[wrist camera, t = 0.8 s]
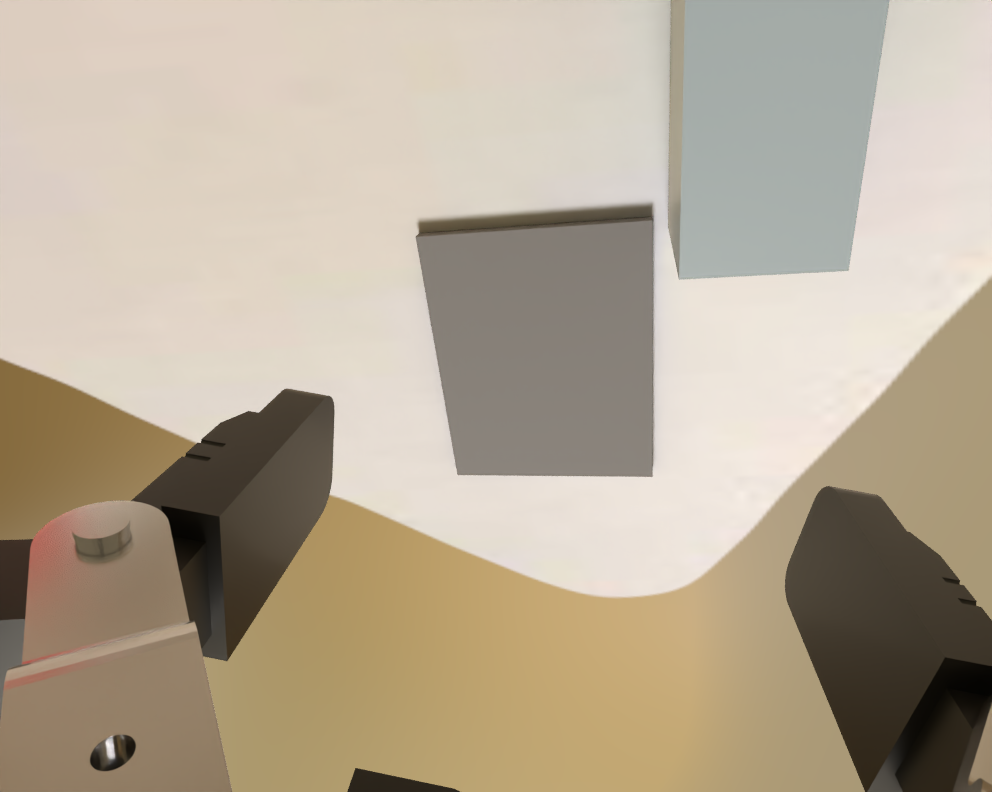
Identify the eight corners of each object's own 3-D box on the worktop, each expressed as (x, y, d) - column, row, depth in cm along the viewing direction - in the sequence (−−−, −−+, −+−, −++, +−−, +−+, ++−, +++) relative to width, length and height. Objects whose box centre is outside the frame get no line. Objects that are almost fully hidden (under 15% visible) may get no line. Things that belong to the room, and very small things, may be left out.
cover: (672, -136, 23) (689, -191, 17) (843, -167, 22) (925, -237, 16) (668, 226, 29) (679, 279, 23) (801, 217, 28) (848, 270, 22)
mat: (419, 233, 32) (415, 237, 31) (652, 216, 29) (652, 220, 29) (459, 468, 38) (457, 474, 38) (651, 470, 36) (652, 476, 36)
